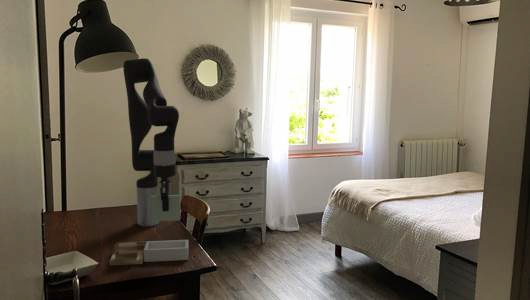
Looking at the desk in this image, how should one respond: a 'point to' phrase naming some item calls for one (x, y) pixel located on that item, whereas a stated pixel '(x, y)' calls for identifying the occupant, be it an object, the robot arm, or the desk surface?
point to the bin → (166, 250)
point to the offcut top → (128, 248)
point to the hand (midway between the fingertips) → (165, 210)
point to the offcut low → (125, 256)
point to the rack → (128, 262)
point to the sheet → (165, 215)
